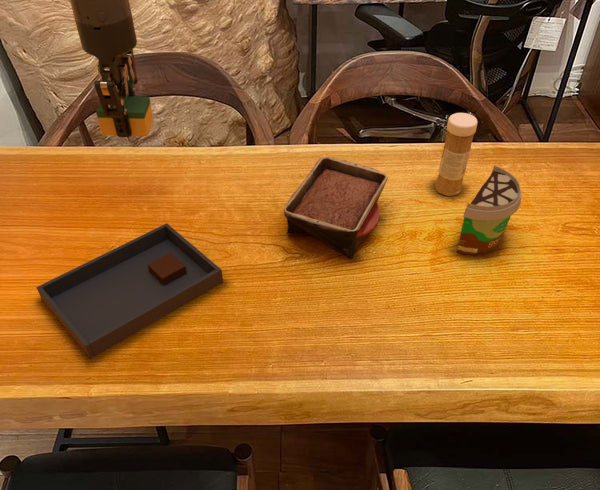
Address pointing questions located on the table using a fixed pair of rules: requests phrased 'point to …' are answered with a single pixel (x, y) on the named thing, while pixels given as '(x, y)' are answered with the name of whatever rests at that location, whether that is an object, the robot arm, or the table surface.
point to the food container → (489, 214)
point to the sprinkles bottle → (455, 153)
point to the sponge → (137, 116)
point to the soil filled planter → (337, 203)
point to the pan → (126, 289)
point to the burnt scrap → (167, 269)
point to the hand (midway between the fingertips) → (128, 126)
